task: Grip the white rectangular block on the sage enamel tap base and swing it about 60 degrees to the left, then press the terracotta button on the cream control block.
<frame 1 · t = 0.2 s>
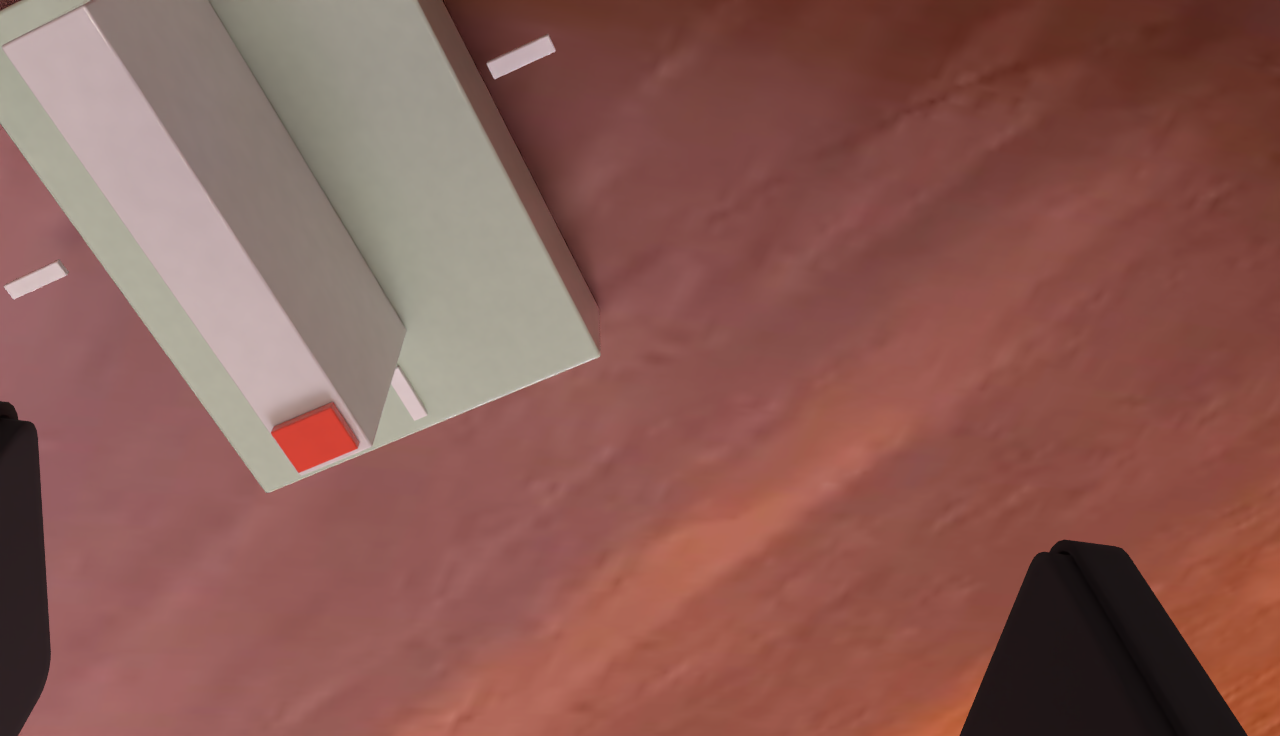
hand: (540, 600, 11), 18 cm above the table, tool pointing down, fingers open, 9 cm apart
white rectangular block: (238, 216, 23), point 5 cm above the table, hinge at 0.0°
tap base: (318, 173, 28), on the table
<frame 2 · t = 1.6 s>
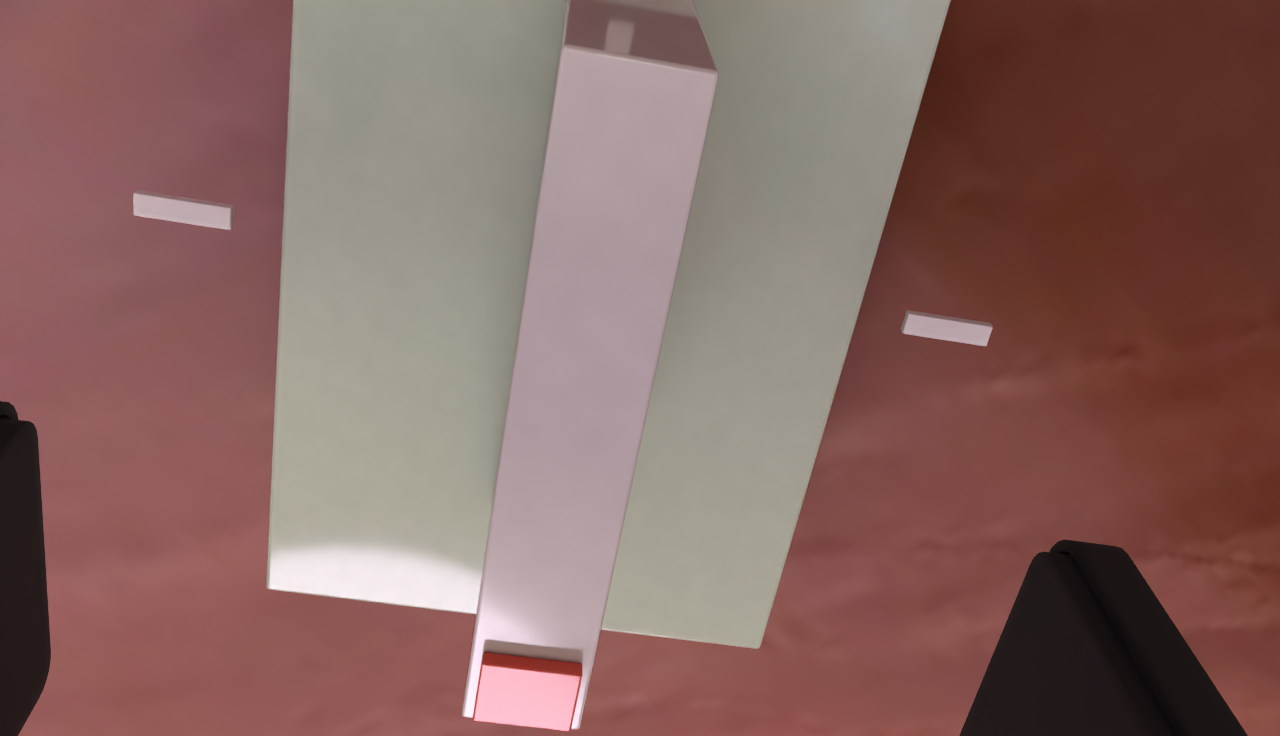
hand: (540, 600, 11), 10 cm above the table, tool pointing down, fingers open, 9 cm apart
white rectangular block: (575, 347, 16), point 5 cm above the table, hinge at 0.0°
tap base: (572, 264, 21), on the table
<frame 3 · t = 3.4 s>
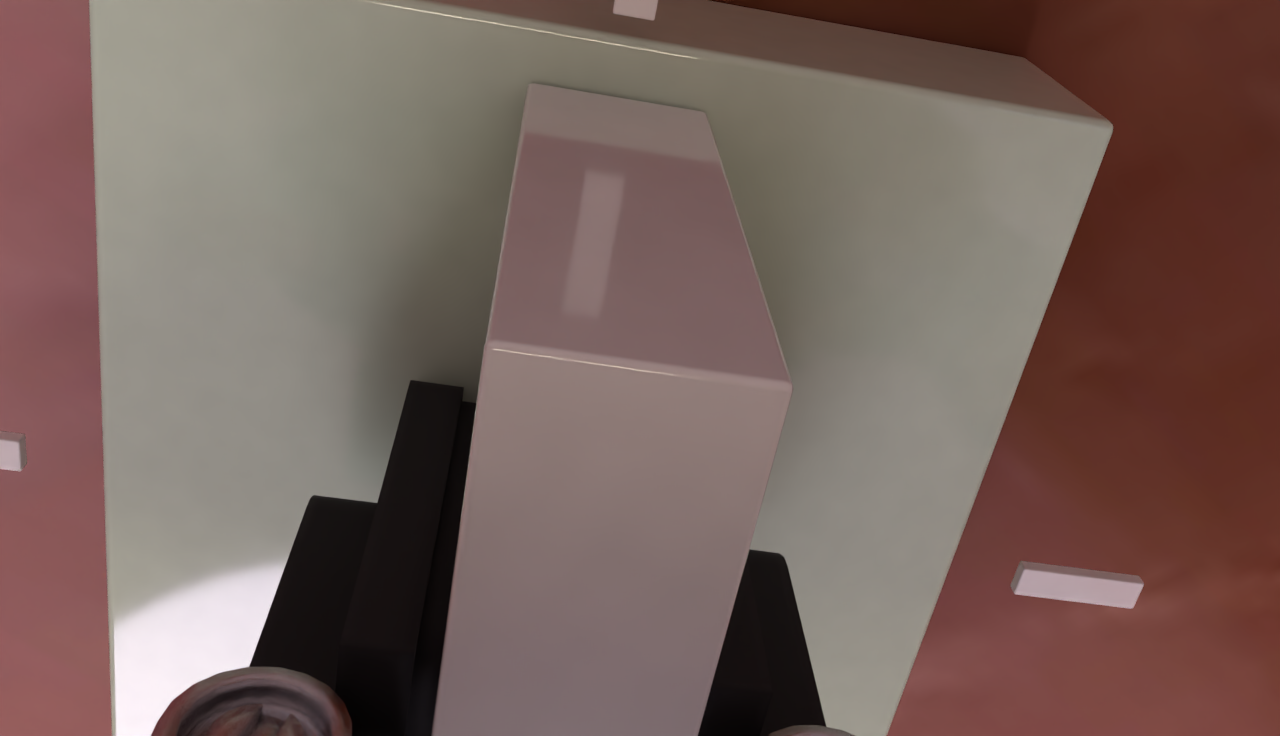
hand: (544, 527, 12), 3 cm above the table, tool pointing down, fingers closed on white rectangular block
white rectangular block: (535, 695, 10), point 5 cm above the table, hinge at 0.0°, touching gripper
tap base: (539, 464, 15), on the table
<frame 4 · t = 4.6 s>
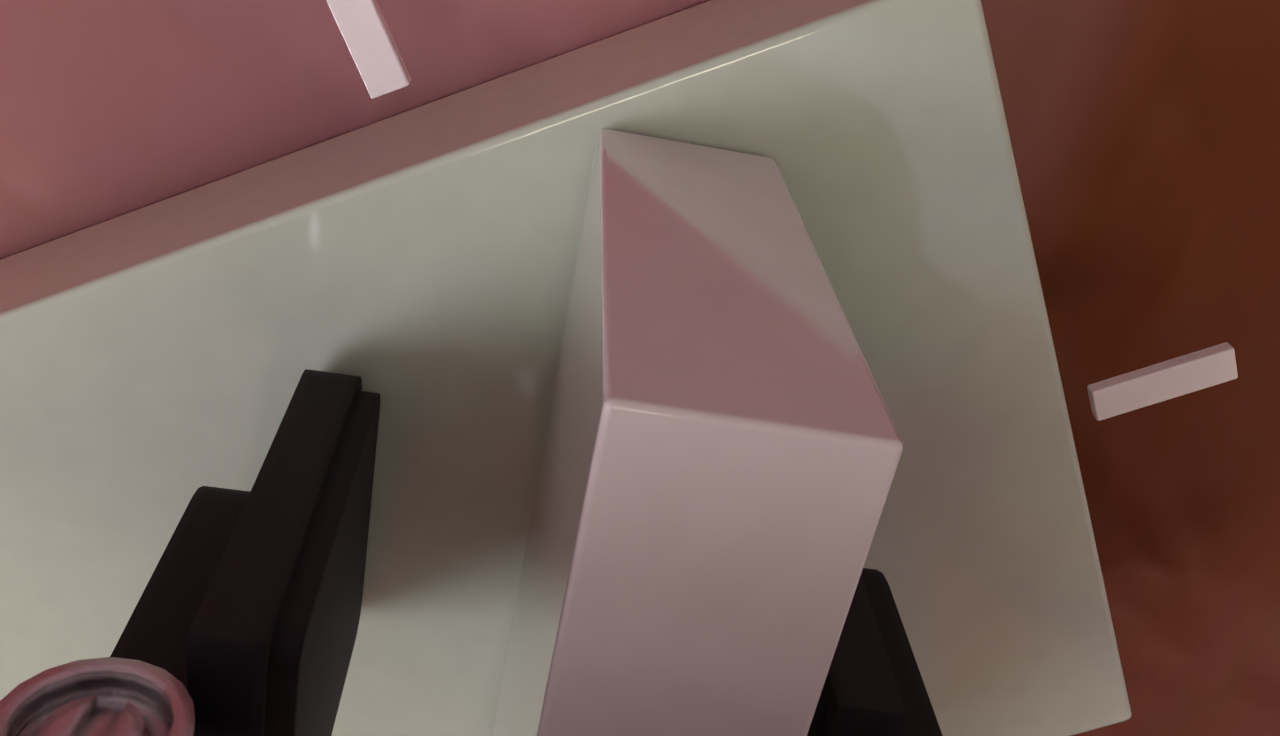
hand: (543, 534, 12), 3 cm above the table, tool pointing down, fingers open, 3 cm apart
white rectangular block: (603, 735, 10), point 5 cm above the table, hinge at 59.9°
tap base: (525, 455, 15), on the table
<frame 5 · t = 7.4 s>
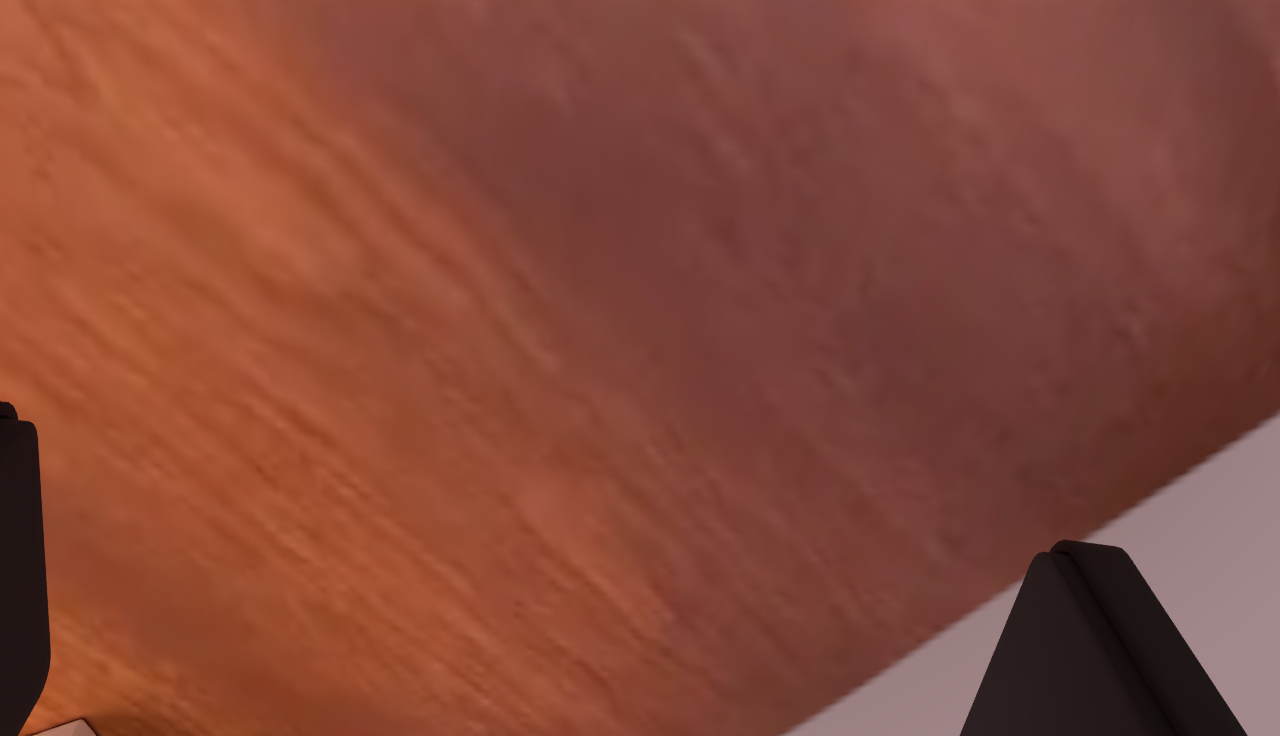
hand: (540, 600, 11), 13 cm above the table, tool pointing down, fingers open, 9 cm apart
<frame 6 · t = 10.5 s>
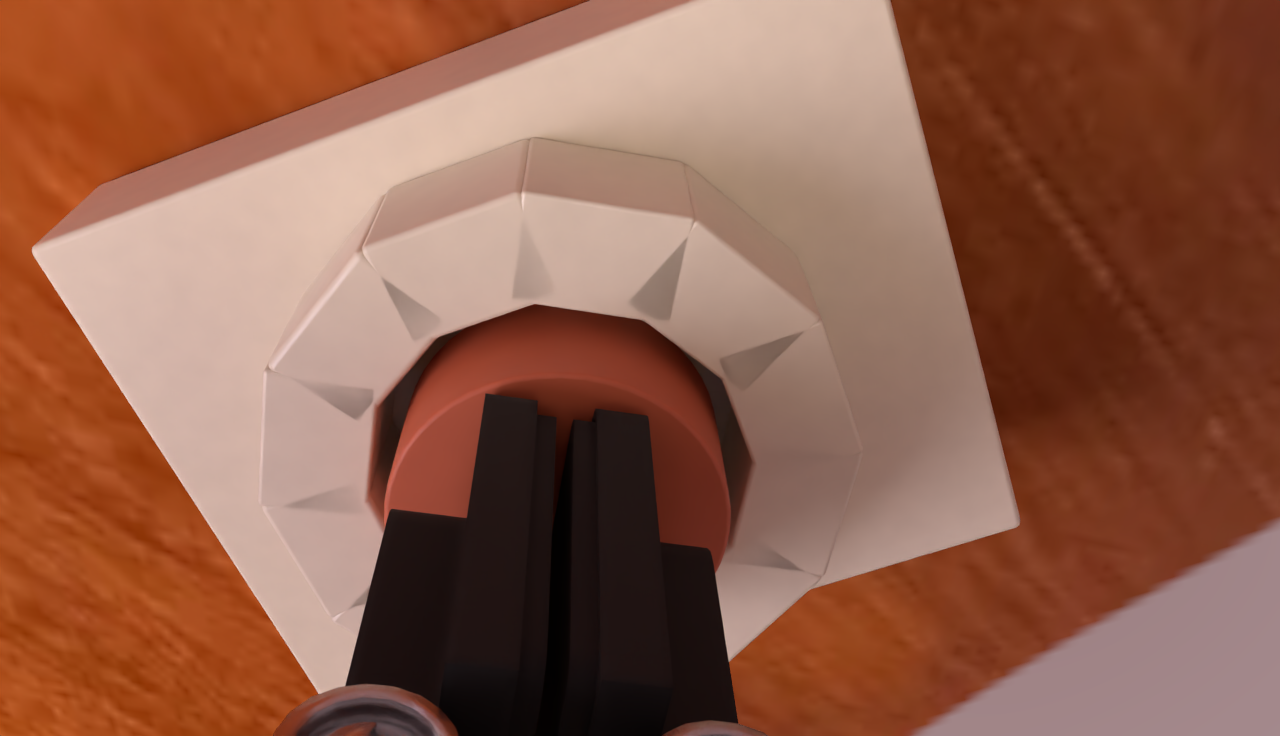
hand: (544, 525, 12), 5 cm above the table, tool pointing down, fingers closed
button: (560, 480, 13), point 4 cm above the table, slide at -0.4 cm, touching gripper
control block: (567, 322, 17), on the table
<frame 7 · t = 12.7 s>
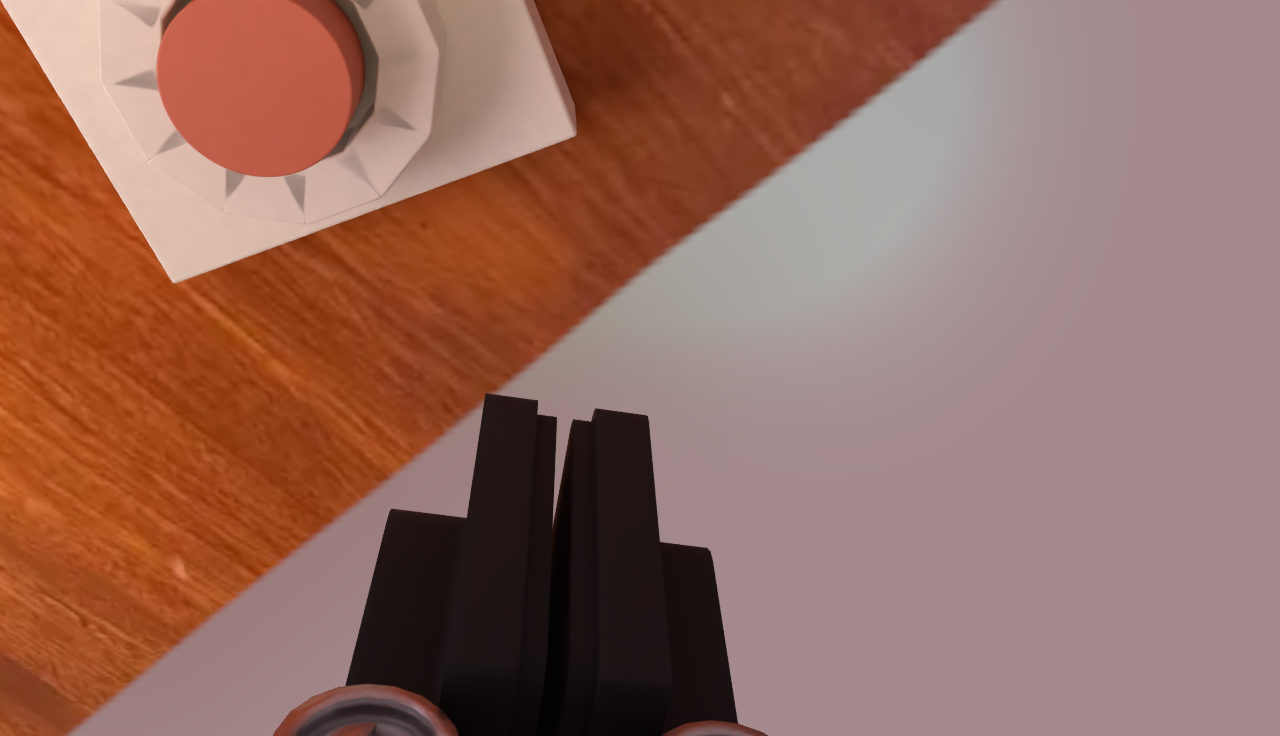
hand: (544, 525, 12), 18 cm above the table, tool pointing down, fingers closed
button: (265, 74, 23), point 4 cm above the table, slide at 0.1 cm
control block: (306, 22, 27), on the table
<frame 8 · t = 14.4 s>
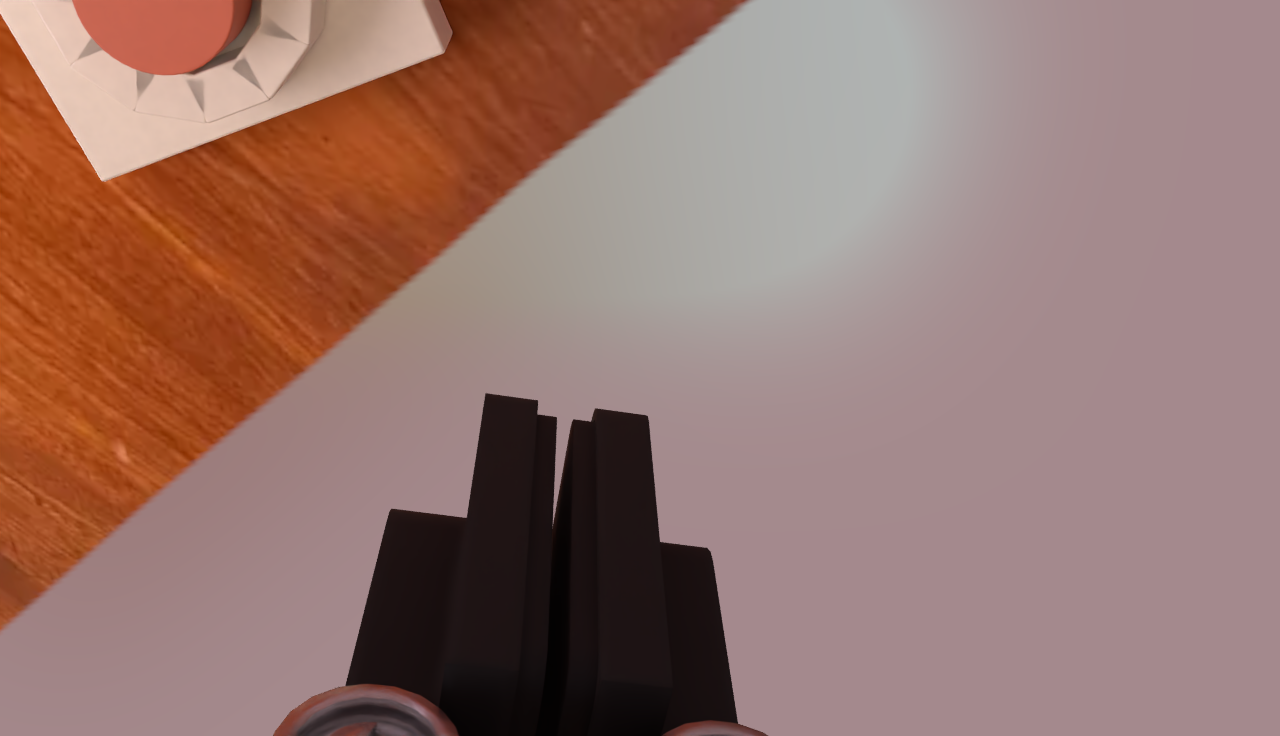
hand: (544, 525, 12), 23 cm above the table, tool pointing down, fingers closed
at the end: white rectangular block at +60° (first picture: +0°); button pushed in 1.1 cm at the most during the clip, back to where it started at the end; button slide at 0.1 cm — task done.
